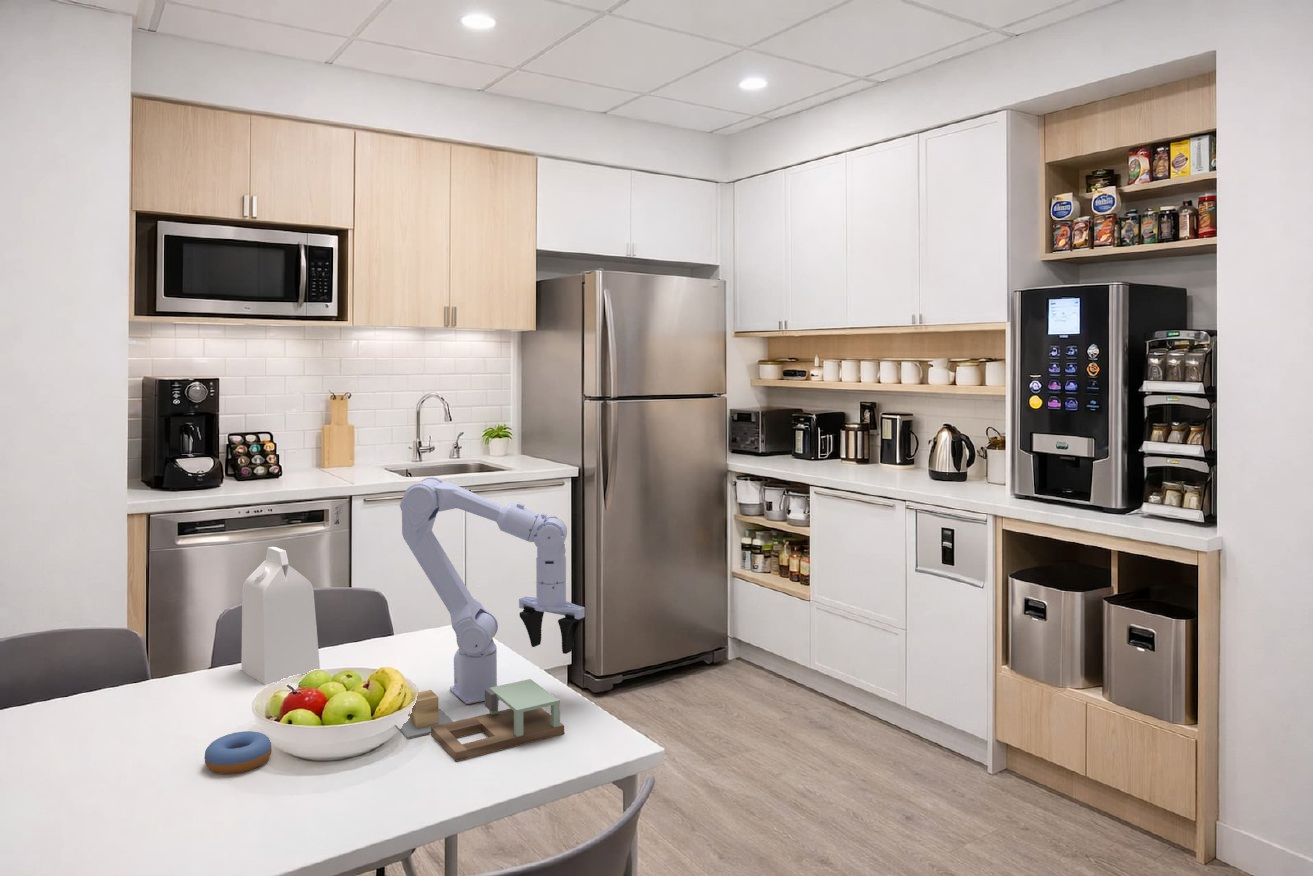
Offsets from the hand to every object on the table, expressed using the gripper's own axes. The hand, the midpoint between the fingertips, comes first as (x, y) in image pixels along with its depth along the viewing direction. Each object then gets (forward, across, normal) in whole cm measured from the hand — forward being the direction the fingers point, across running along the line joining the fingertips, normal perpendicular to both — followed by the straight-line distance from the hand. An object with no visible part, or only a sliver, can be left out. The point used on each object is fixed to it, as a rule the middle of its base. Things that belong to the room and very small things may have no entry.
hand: (551, 648), depth 172 cm
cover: (+8, +5, -15) cm, 18 cm away
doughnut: (+10, -26, -49) cm, 57 cm away
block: (+9, -11, -23) cm, 27 cm away
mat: (+9, -11, -23) cm, 27 cm away
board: (+9, +3, -19) cm, 22 cm away
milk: (+10, -57, -19) cm, 61 cm away
